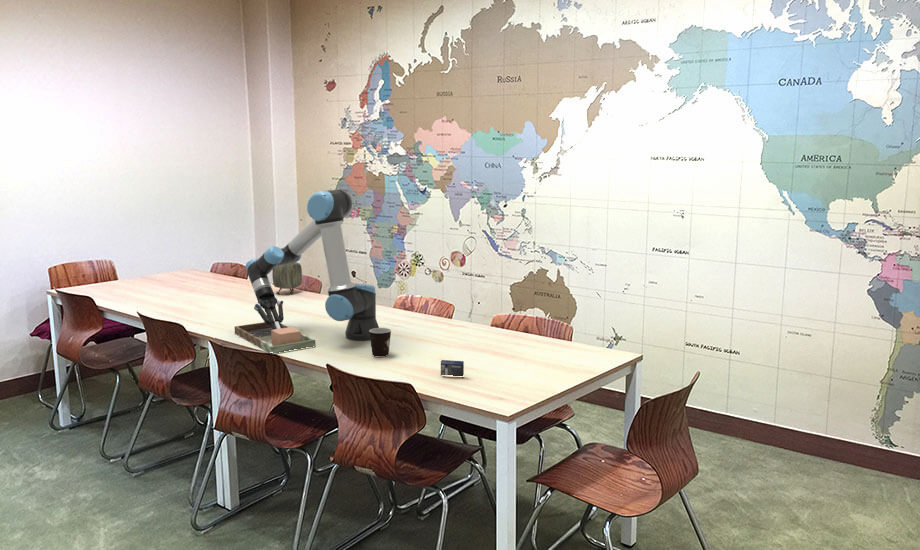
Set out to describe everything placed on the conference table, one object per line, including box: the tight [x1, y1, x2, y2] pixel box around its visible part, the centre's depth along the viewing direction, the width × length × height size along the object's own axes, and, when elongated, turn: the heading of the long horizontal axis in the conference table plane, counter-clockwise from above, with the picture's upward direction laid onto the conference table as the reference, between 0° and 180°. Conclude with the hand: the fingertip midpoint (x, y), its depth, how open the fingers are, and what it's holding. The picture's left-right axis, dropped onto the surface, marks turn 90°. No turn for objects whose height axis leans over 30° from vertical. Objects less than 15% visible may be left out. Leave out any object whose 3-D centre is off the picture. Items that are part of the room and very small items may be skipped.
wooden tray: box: [234, 320, 316, 354], centre depth 328 cm, size 42×19×3 cm, turn 36°
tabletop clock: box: [271, 261, 303, 296], centre depth 424 cm, size 14×9×25 cm, turn 144°
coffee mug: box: [369, 327, 392, 357], centre depth 304 cm, size 12×9×10 cm
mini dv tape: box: [440, 359, 465, 376], centre depth 277 cm, size 8×2×6 cm, turn 80°
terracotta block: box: [271, 326, 302, 346], centre depth 317 cm, size 9×9×7 cm
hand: (280, 336), depth 322 cm, fingers closed
